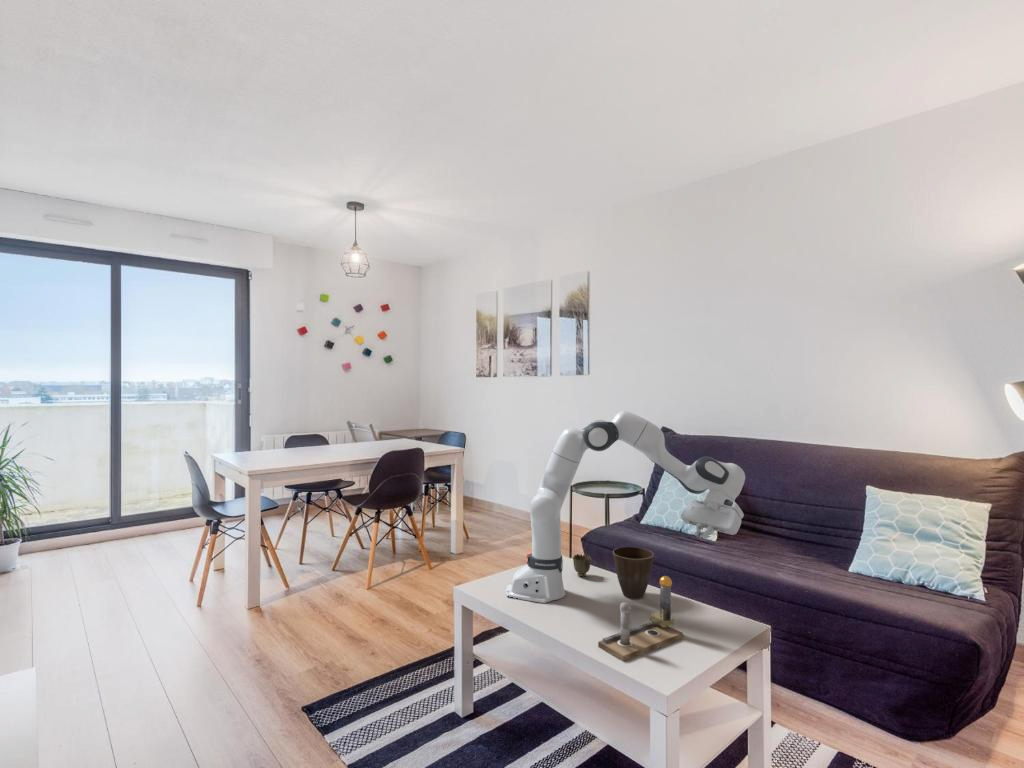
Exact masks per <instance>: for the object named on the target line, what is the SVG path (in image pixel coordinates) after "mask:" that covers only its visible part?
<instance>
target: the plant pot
mask: <svg viewBox="0 0 1024 768" xmlns="http://www.w3.org/2000/svg"><path fill="white" fill-rule="evenodd" d="M612 554H613V555H612V556H613V560H614V561H613V562H614V568H615V572H616V575H617V576H616V577H617V580H618V584H619V585H620V589H621V592H622V595H623V597H625V598H627V599H630V600H641V599H643V598H644V596H645V594H646V591H647V588H648V585H649V582H650V580H651V579H650V578H651V574H652V569H653V564H654V558H655V557H654V556H655V553H654V552H653V551H651V550H649V549H647V548H643V547H636V546H622V547H616V548H614V549H613V550H612Z"/></svg>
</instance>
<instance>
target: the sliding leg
mask: <svg viewBox="0 0 1024 768" xmlns="http://www.w3.org/2000/svg"><path fill="white" fill-rule="evenodd" d="M658 583H659V586H660V587H659V591H660V592H659V593H660V595H659V596H660V597H659V599H660V600H659V601H660V602H659V603H660V605H659V610H660V611H657V612H654V613H651V614H649V621H650V622H654V623H656V624H658V625H660V626H662V627H668V626H669V627H672V626H674V624H675V618H674V617H672V585H673V582H672V579H671V577H669V576H667V575H663V576H661V577H660V578H659V582H658Z"/></svg>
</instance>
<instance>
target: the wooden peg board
mask: <svg viewBox="0 0 1024 768" xmlns="http://www.w3.org/2000/svg"><path fill="white" fill-rule="evenodd" d="M619 610H620V632H618V633H615V634H613V635H609V636H606V637H603V638H602V640H598V642H597V644H598V645H597V647H598V648H600V649H602V650H603V651H604V652H606V653H608V654H610V655H611V656H613V657H615V658H616V659H618V660H620V661H622V662H626V661H628V660H630V659H633V658H635V657H638V656H640V655H643V654H646V653H647V652H650V651H653V650H656V649H658V648H661V647H664V646H666V645H668V644H670V643H673V642H675V641H678V640H681V639H683V638H684V634H683V633H684V632H682V631H680V630H678V629H676V628H674V627H672V626H668V627H662V626H660V625H658V624H656V623H654V622H652V621H650V622H647V623H644V624H640V625H638V626H636V627H633V628H630V626H631V625H630V624H631V620H630V619H631V610H632V608H631V605H630V604H629V602H626V601H622V602H621V603H620V605H619Z"/></svg>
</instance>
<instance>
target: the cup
mask: <svg viewBox="0 0 1024 768" xmlns="http://www.w3.org/2000/svg"><path fill="white" fill-rule="evenodd" d="M572 561H573V562H572V563H573V568H574V570H575V572H576V574H577V576H578V577H579V576H582V577H581V578H584V577H583V576H585V577H586V576H587V573H588V572H589V571H590V568H591V561H592V557H591V556H590V555H587V554H582V553H581V554H579V553H577V554H574V555H573V556H572Z"/></svg>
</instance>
